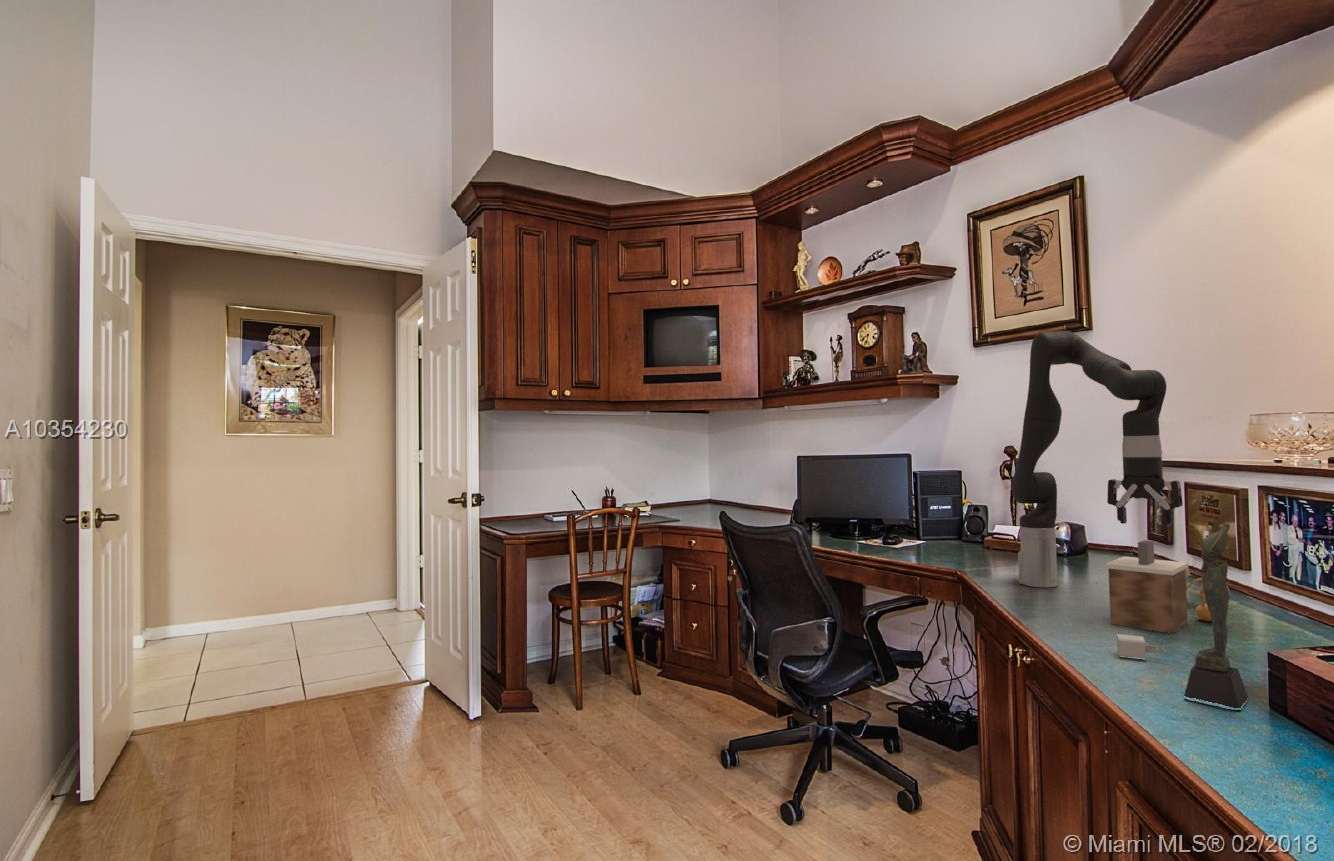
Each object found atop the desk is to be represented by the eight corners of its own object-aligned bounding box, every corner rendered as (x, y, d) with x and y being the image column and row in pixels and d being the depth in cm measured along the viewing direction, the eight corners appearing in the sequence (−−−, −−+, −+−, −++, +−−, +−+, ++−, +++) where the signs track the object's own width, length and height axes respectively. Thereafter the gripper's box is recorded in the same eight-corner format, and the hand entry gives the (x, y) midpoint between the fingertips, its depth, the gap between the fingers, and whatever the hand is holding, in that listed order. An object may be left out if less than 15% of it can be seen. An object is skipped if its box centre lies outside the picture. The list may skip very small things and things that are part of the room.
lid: (1105, 572, 159) (1104, 542, 159) (1123, 564, 167) (1122, 536, 167) (1172, 579, 149) (1171, 548, 149) (1188, 571, 157) (1187, 541, 158)
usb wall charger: (1117, 652, 138) (1117, 633, 138) (1159, 657, 135) (1158, 637, 135) (1119, 658, 135) (1118, 638, 135) (1162, 663, 131) (1161, 642, 131)
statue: (1193, 688, 118) (1186, 516, 119) (1249, 700, 112) (1241, 519, 113) (1182, 699, 113) (1175, 520, 114) (1240, 712, 108) (1232, 523, 108)
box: (1110, 623, 159) (1108, 567, 159) (1127, 614, 166) (1125, 560, 167) (1172, 633, 150) (1170, 574, 150) (1187, 623, 157) (1185, 567, 157)
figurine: (1225, 620, 159) (1223, 568, 159) (1235, 627, 153) (1233, 573, 153) (1182, 617, 162) (1180, 567, 162) (1190, 624, 156) (1188, 572, 157)
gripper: (1101, 455, 162) (1104, 524, 161) (1174, 455, 151) (1177, 528, 151) (1112, 454, 167) (1115, 521, 166) (1183, 454, 156) (1186, 525, 155)
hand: (1144, 524), depth 158 cm, fingers open, 8 cm apart
